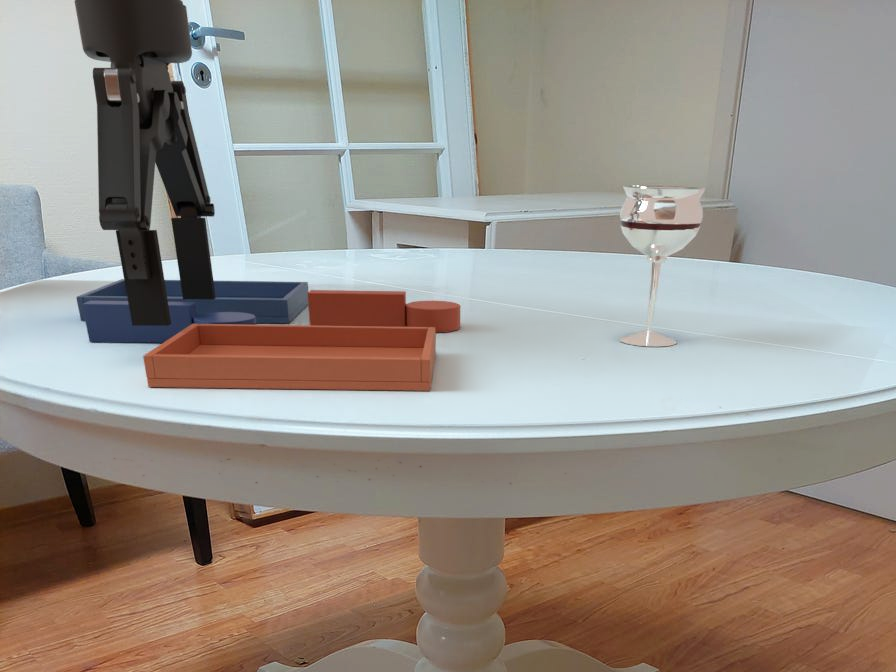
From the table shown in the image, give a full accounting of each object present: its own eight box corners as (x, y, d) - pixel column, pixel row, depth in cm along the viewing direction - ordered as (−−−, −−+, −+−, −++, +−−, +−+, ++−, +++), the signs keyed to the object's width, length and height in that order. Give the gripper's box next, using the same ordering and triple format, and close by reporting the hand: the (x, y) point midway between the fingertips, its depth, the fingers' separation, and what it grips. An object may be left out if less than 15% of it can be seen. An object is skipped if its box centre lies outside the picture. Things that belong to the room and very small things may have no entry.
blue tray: (80, 320, 82) (75, 296, 81) (125, 300, 92) (121, 279, 91) (289, 323, 82) (287, 299, 81) (309, 303, 93) (307, 281, 92)
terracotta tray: (148, 387, 60) (142, 355, 59) (195, 351, 71) (192, 323, 70) (430, 391, 61) (429, 359, 60) (435, 354, 71) (435, 327, 70)
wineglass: (695, 338, 79) (715, 187, 73) (675, 351, 74) (694, 190, 68) (623, 331, 82) (636, 184, 76) (598, 343, 76) (610, 187, 70)
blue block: (81, 345, 72) (74, 306, 70) (103, 334, 76) (96, 297, 75) (251, 348, 72) (246, 309, 71) (263, 336, 77) (259, 299, 75)
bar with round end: (307, 330, 79) (304, 295, 78) (315, 321, 84) (313, 287, 82) (460, 333, 79) (460, 297, 78) (460, 323, 84) (460, 289, 82)
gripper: (123, -39, 52) (180, 338, 62) (225, 18, 74) (254, 290, 84) (-7, -40, 52) (72, 338, 62) (134, 17, 74) (175, 289, 84)
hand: (177, 311), depth 73 cm, fingers open, 13 cm apart
